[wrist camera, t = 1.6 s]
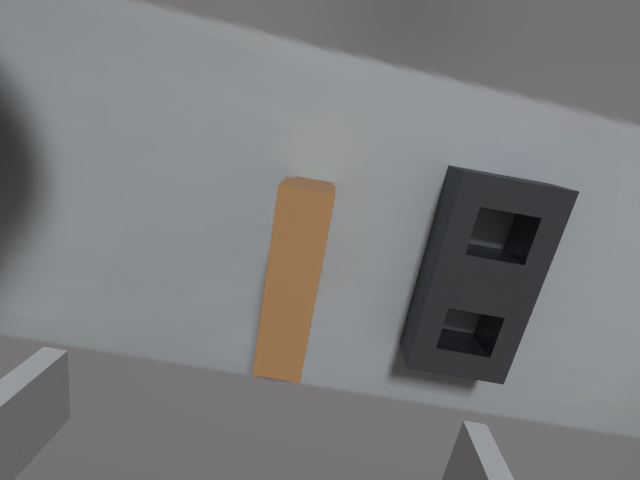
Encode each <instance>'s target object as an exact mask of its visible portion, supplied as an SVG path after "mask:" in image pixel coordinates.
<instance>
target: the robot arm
mask: <svg viewBox="0 0 640 480" xmlns="http://www.w3.org/2000/svg"><path fill="white" fill-rule="evenodd" d="M69 419H70V401H69V376H68V351H66V350H61V349H55V348H49V347H43V348H42V349H40V350H39V351H38V352H36V353H35V354H34V355H32V356H31V357H30V358H28V359H27V360H26V361H24V362H23V363H22V364H21V365H19V366H18V367H17V368H15V369H14V370H12V371H11V372H10V373H8V374H7V375H6V376H5V377H3V378H2V379H1V380H0V480H14V479H15V478H16V477H17V476H18V475H19V473H20V472H21V471H22V470H23V469H24V468H25V467H26V466H27V465H28V464H29V462H30V461H31V460H32V459H33V458H34V457H35V456H36V455H37V454H38V453H39V452H40V450H41V449H42V448H43V447H44V446H45V445H46V444H47V443H48V442H49V441H50V439H51V438H52V437H53V436H54V435H55V434H56V433H57V432H58V431H59V429H61V428H62V426H63V425H64V424H65V423H66V422H67V421H68V420H69ZM442 480H514V479H513V477H512V475H511V473H510V471H509V469H508V467H507V465H506V463H505V461H504V459H503V457H502V455H501V453H500V451H499V449H498V447H497V445H496V443H495V441H494V439H493V437H492V435H491V434H490V431H489V429H488V427H487V425H485V424H480V423H473V422H468V421H463V423H462V426H461V429H460V431H459V435H458V437H457V440H456V442H455V445H454V448H453V451H452V453H451V456H450V459H449V462H448V464H447V467H446V470H445V473H444V475H443V478H442Z"/></svg>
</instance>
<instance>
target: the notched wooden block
mask: <svg viewBox="0 0 640 480" xmlns="http://www.w3.org/2000/svg"><path fill="white" fill-rule="evenodd" d="M334 199H335V186H333V183H331V182H325V181H320V180H314V179H308V178H303V177H297V176H296V177H295V178H289V177H286V178H285V179H284V180H283V181H282V182H281V183H280V184H279V186H278V193H277V200H276V207H275V215H274V222H273V229H272V236H271V243H270V250H269V258H268V265H267V272H266V279H265V286H264V293H263V301H262V308H261V315H260V322H259V329H258V336H257V344H256V351H255V358H254V365H253V372H252V375H255V376H260V377H266V378H272V379H278V380H284V381H289V382H295V383H300V379H301V374H302V369H303V363H304V358H305V353H306V347H307V342H308V337H309V332H310V326H311V321H312V316H313V310H314V305H315V300H316V294H317V289H318V284H319V279H320V273H321V268H322V263H323V257H324V252H325V247H326V241H327V236H328V231H329V225H330V220H331V215H332V210H333V204H334Z"/></svg>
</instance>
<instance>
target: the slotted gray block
mask: <svg viewBox="0 0 640 480" xmlns="http://www.w3.org/2000/svg"><path fill="white" fill-rule="evenodd" d="M578 194H579V192H578V191H574V190H571V189H567V188H563V187H560V186H556V185H553V184H548V183H543V182H537V181H532V180H526V179H521V178H515V177H510V176H504V175H499V174H493V173H488V172H482V171H477V170H471V169H466V168H460V167H455V166H449V167H448V171H447V174H446V178H445V181H444V185H443V189H442V192H441V196H440V199H439V203H438V207H437V210H436V214H435V217H434V221H433V225H432V228H431V232H430V236H429V239H428V243H427V246H426V250H425V254H424V257H423V261H422V264H421V268H420V272H419V275H418V279H417V282H416V286H415V290H414V293H413V297H412V300H411V304H410V308H409V311H408V315H407V318H406V322H405V326H404V329H403V333H402V336H401V340H400V346H401V349H402V353H403V356H404V360H405V363H406V366H407V368H412V369H418V370H424V371H429V372H435V373H441V374H447V375H452V376H458V377H464V378H470V379H475V380H481V381H487V382H493V383H498V384H504V382H505V379H506V377H507V374H508V372H509V369H510V367H511V364H512V362H513V359H514V356H515V354H516V351H517V349H518V346H519V344H520V341H521V339H522V336H523V334H524V331H525V328H526V326H527V323H528V321H529V318H530V316H531V313H532V311H533V308H534V306H535V303H536V300H537V298H538V295H539V293H540V290H541V288H542V285H543V283H544V280H545V278H546V275H547V272H548V270H549V267H550V265H551V262H552V260H553V257H554V255H555V252H556V250H557V247H558V244H559V242H560V239H561V237H562V234H563V232H564V229H565V227H566V224H567V222H568V219H569V217H570V214H571V211H572V209H573V206H574V204H575V201H576V199H577V196H578ZM480 207H483V208H489V209H494V210H500V211H505V212H511V213H516V215H515V218H514V221H513V224H512V227H511V230H510V232H509V235H508V238H507V241H506V244H505V247H504V250H502V249H496V248H491V247H485V246H480V245H474V244H469V241H470V238H471V235H472V232H473V229H474V225H475V222H476V219H477V216H478V213H479V209H480ZM448 308H450V309H456V310H461V311H467V312H473V313H478V314H481V316H480V319H479V322H478V325H477V328H476V331H475V334H472V333H466V332H461V331H455V330H449V329H444V328H442V327H443V324H444V321H445V318H446V315H447V311H448Z"/></svg>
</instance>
